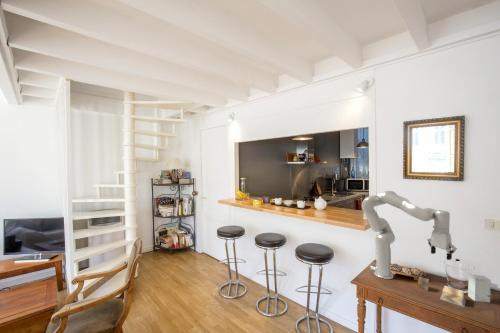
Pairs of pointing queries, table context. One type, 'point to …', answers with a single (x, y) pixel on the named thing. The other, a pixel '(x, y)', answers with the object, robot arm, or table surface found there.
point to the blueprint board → (455, 303)
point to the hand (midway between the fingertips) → (440, 256)
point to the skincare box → (479, 288)
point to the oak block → (453, 295)
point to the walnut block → (423, 283)
